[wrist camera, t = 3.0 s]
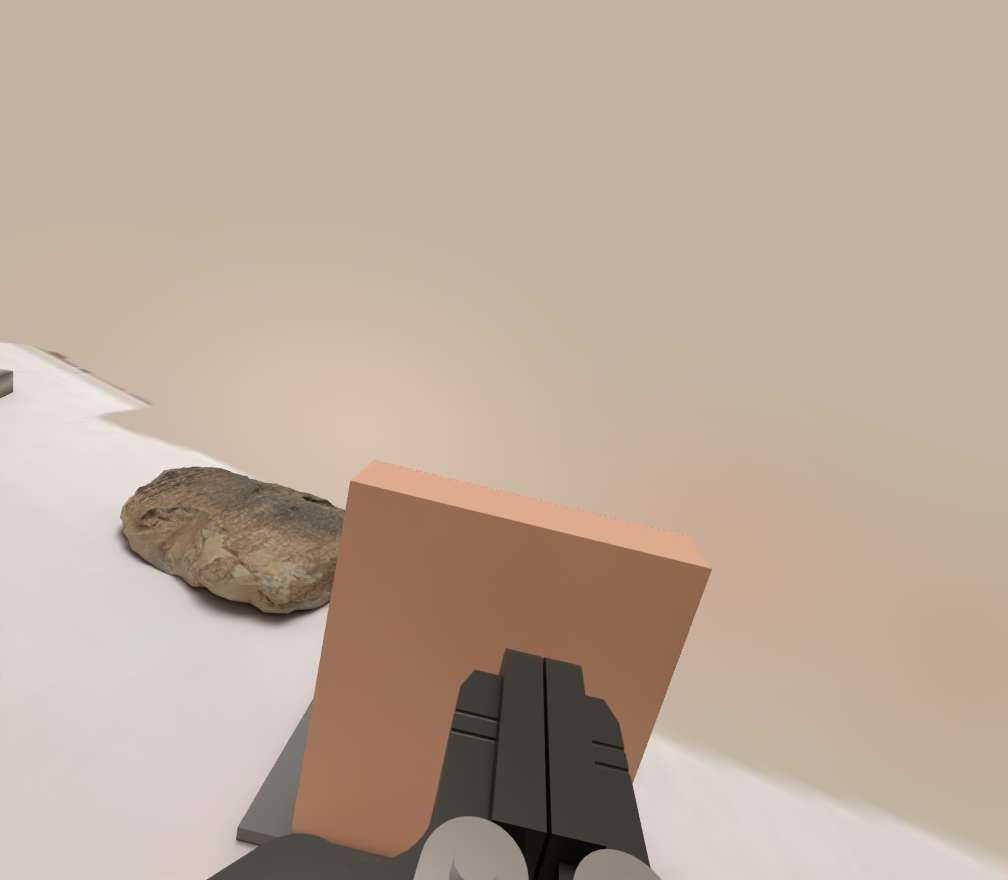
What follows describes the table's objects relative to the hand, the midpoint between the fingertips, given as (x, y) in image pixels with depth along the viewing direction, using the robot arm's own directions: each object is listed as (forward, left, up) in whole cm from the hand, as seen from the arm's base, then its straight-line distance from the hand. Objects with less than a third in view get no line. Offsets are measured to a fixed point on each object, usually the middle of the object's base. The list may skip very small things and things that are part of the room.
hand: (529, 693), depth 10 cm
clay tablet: (-20, +27, -15) cm, 37 cm away
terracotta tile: (0, +8, -14) cm, 16 cm away
